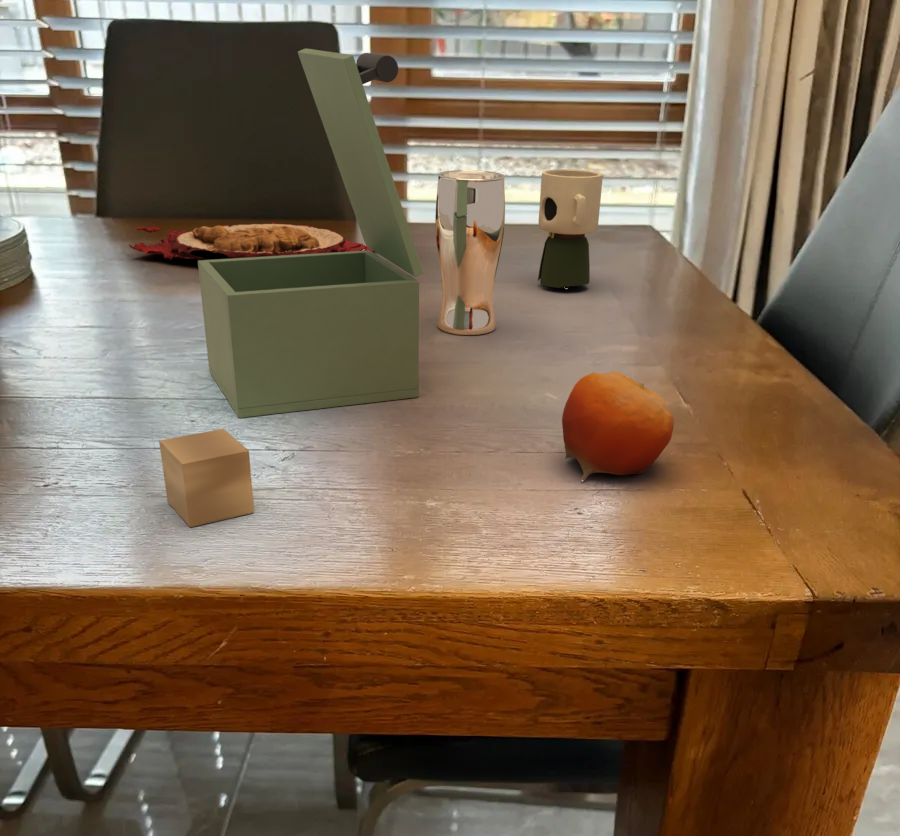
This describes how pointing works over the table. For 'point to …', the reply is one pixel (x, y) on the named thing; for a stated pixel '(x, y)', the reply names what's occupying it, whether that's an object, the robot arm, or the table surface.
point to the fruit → (615, 425)
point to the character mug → (568, 224)
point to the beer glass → (469, 247)
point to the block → (207, 477)
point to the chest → (310, 331)
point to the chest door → (361, 148)
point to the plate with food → (249, 241)
